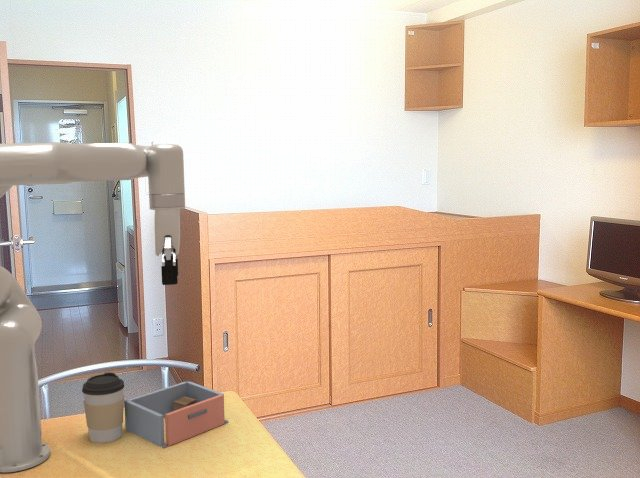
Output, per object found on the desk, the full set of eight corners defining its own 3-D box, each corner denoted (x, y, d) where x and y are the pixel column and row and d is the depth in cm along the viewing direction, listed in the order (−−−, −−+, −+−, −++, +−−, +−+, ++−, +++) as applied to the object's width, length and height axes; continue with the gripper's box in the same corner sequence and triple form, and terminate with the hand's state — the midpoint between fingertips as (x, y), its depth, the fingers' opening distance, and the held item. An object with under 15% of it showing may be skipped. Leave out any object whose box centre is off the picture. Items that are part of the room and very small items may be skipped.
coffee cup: (114, 451, 139) (110, 385, 137) (76, 448, 141) (73, 382, 139) (134, 434, 148) (131, 371, 146) (98, 431, 150) (95, 369, 148)
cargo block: (185, 420, 153) (185, 404, 153) (173, 417, 155) (172, 401, 155) (197, 415, 156) (196, 399, 156) (185, 411, 158) (184, 396, 158)
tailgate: (170, 446, 138) (168, 415, 138) (166, 444, 139) (165, 414, 139) (225, 424, 150) (224, 395, 149) (221, 422, 151) (220, 394, 150)
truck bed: (164, 453, 138) (163, 418, 137) (125, 433, 148) (124, 400, 147) (228, 427, 151) (227, 395, 150) (188, 411, 161) (187, 380, 161)
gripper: (151, 200, 145) (154, 274, 147) (146, 205, 128) (150, 288, 130) (185, 199, 146) (187, 272, 149) (184, 204, 130) (188, 287, 132)
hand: (170, 280), depth 139 cm, fingers open, 9 cm apart
